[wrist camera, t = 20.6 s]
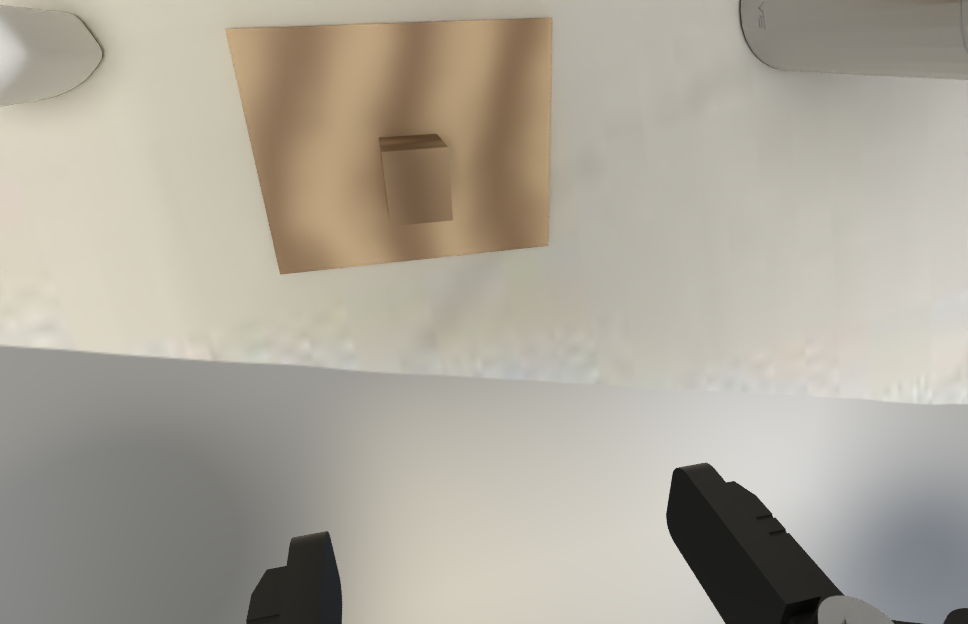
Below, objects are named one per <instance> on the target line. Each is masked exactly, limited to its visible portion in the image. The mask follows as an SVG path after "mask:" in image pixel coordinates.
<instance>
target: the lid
mask: <svg viewBox="0 0 968 624" xmlns="http://www.w3.org/2000/svg"><path fill="white" fill-rule="evenodd" d="M225 30H226V34H227V39H228V43H229V48H230V52H231V57H232V61H233V66H234V70H235V75H236V79H237V84H238V88H239V92H240V97H241V101H242V106H243V110H244V115H245V119H246V124H247V128H248V133H249V137H250V141H251V146H252V150H253V155H254V159H255V164H256V168H257V173H258V177H259V182H260V186H261V190H262V195H263V199H264V204H265V208H266V213H267V217H268V222H269V226H270V231H271V235H272V239H273V244H274V248H275V253H276V257H277V262H278V266H279V271H280V274H289V273H298V272H307V271H316V270H326V269H335V268H344V267H354V266H363V265H372V264H382V263H391V262H400V261H410V260H419V259H428V258H437V257H447V256H456V255H465V254H475V253H484V252H493V251H503V250H512V249H521V248H531V247H540V246H548V231H549V174H550V118H551V61H552V18H529V19H500V20H471V21H443V22H414V23H385V24H357V25H328V26H299V27H270V28H242V29H225Z"/></svg>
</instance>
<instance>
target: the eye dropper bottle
mask: <svg viewBox="0 0 968 624" xmlns="http://www.w3.org/2000/svg"><path fill="white" fill-rule="evenodd" d="M101 59H102V51H101V48H100V46H99V45H98V43H97V42H96V40H95V39H94V37H93V36H92V35H91V33H90V32H89V31H88V29H87V28H86V26H85V25H84V24H83V23H82V21H81V20H80V19H79V18H78V17H76V16H75V15H73V14H70V13H66V12H58V11H49V10H41V9H32V8H23V7H14V6H4V5H0V107H1V106H7V105H13V104H19V103H25V102H31V101H37V100H43V99H47V98H51V97H55V96H58V95H60V94H63V93H65V92H67V91H70V90H71V89H73V88H75V87H76V86H78V85H79V84H81V83H82V82H83V81H84V80H85V79H87V78H88V77H89V76H90V75H91V73H92V72H93V71H94V70H95V69H96V67H97V66H98V64H99V63H100V61H101Z"/></svg>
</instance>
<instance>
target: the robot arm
mask: <svg viewBox="0 0 968 624" xmlns="http://www.w3.org/2000/svg"><path fill="white" fill-rule="evenodd" d="M741 19H742V27H743V31H744V34H745V37H746V40H747V42H748V44H749V46H750V47H751V49H752V51H753V52H754V54H755V55H756V56H757V57H758V58H759V59H760V60H761V61H762V62H764V63H766V64H768V65H769V66H771V67H773V68H777V69H782V70H790V71H809V72H827V73H841V74H860V75H879V76H898V77H918V78H937V79H956V80H968V0H741ZM666 518H667V525H668V529H669V532H670V534H671V537H672V539H673V541H674V543H675V544H676V546H677V547H678V549H679V551H680V552H681V554H682V555H683V557H684V559H685V560H686V562H687V563H688V565H689V566H690V568H691V570H692V571H693V573H694V574H695V576H696V578H697V579H698V580H699V582H700V584H701V585H702V587H703V589H704V590H705V592H706V593H707V595H708V596H709V598H710V600H711V601H712V603H713V604H714V606H715V608H716V609H717V611H718V612H719V614H720V616H721V617H722V619H723V620H724V622H725V624H920V623H911V622H902V621H895V620H890V618H888V617H887V616H886V615H885V614H884V613H882V612H881V611H880V610H879V609H877V608H875V607H874V606H872V605H870V604H868V603H866V602H864V601H862V600H859V599H857V598H853V597H849V596H845V595H843V593H842V592H841V591H839V589H838V588H837V587H836V586H835V585H834V584H833V583H832V581H831V580H830V579H829V578H828V577H827V576H826V575H825V574H824V572H823V571H822V570H821V569H820V568H819V567H818V566H817V564H816V563H815V562H814V561H813V560H812V559H811V558H810V556H809V555H808V554H807V553H806V552H805V551H804V550H803V549H802V547H801V546H800V545H799V544H798V543H797V542H796V541H795V539H794V538H793V537H792V536H791V535H790V534H789V533H786V531H785V528H784V527H783V526H782V525H781V523H780V522H779V521H778V520H777V519H776V518H773V516H772V513H771V512H770V511H769V510H768V509H767V508H766V507H765V505H764V504H763V503H762V502H761V501H760V500H759V499H758V497H757V496H756V495H754V494H753V493H751V492H750V491H748V490H747V489H745V488H744V487H742V486H741V485H739V484H737V483H736V482H735V481H732V482H727V483H726V482H725V481H724V480H723V478H722V477H721V476H720V475H719V474H718V472H717V471H716V470H715V469H714V468H713V467H712V466H711V465H710V464H708V463H701V464H696V465H691V466H685V467H679V468H676V469H675V470H674V471H673V475H672V481H671V488H670V494H669V500H668V507H667V513H666ZM246 621H247V624H342V592H341V583H340V577H339V572H338V569H337V564H336V560H335V556H334V551H333V547H332V543H331V539H330V535H329V533H328V532H327V531H326V532H320V533H315V534H310V535H304V536H299V537H293V538H292V539H291V542H290V547H289V554H288V561H287V566H284V567H279V568H273V569H268V570H266V572H265V573H264V575H263V577H262V578H261V580H260V582H259V583H258V585H257V586H256V588H255V590H254V592H253V593H252V595H251V600H250V605H249V610H248V615H247V620H246ZM943 624H968V608H962V609H957V610H954V611H952V612H950V613H949V615H948V616H947V618H946V619H945V621H944V623H943Z"/></svg>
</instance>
